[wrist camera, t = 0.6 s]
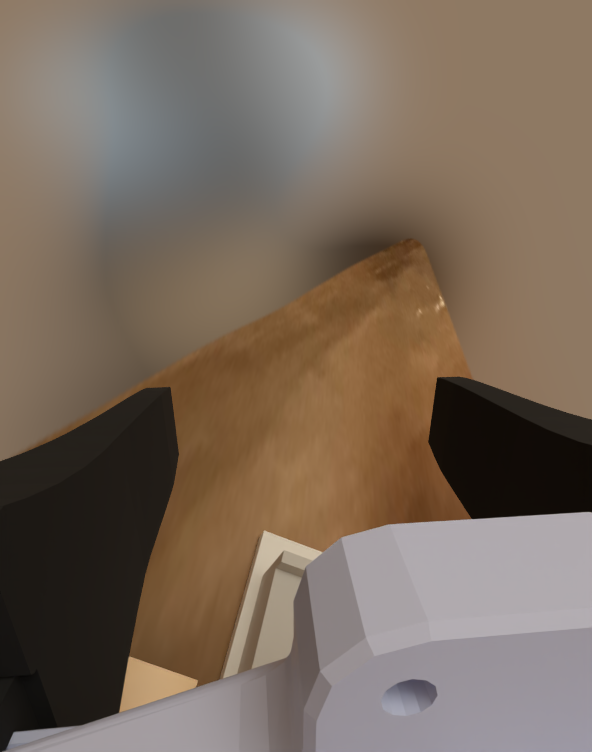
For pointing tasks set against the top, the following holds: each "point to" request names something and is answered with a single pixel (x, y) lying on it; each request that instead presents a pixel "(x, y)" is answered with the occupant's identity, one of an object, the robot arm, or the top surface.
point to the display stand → (267, 605)
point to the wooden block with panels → (151, 684)
